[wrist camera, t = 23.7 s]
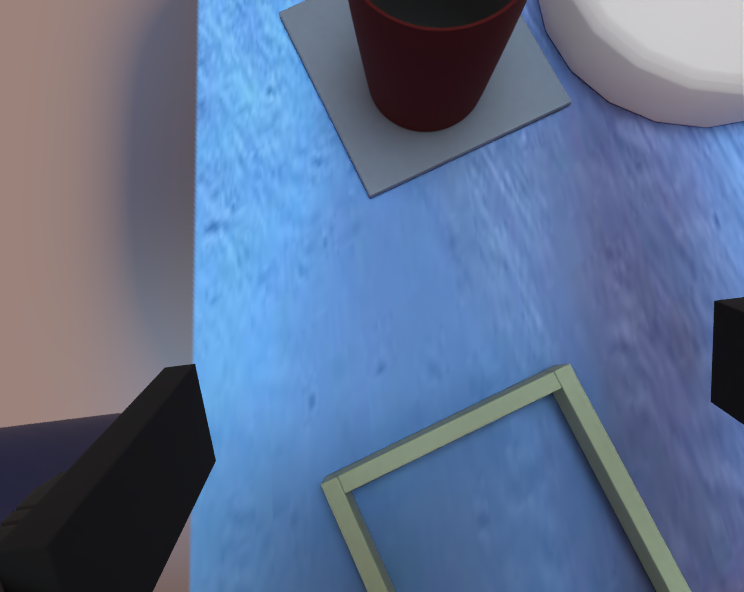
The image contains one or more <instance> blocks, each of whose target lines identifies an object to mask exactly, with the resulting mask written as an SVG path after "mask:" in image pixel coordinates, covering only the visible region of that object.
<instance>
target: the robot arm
mask: <svg viewBox="0 0 744 592" xmlns="http://www.w3.org/2000/svg"><path fill="white" fill-rule="evenodd" d="M711 402H712V403H713V404H715V405H716V406H718V407H719V408H721V409H722V410H723V411H725V412H726V413H728V414H729V415H731V416H732V417H734V418H735V419H736V420H738V421H739V422H741V423H742V424H744V297H742V298H734V299H726V300H717V301H714V326H713V354H712V382H711ZM215 461H216V459H215V455H214V450H213V445H212V441H211V436H210V431H209V427H208V422H207V418H206V413H205V408H204V404H203V399H202V394H201V390H200V385H199V380H198V376H197V371H196V367H195V364H190V365H182V366H174V367H166V368H164V369H163V370H162V371H161V372H160V373H159V375H158V376H157V377H156V378H155V379H154V380H153V381H152V382H151V383H150V384H149V385H148V386H147V387H146V388H145V389H144V391H142V393H141V394H140V395H139V396H138V397H137V398H136V399H135V400H134V401H133V402H132V403H131V404H130V405H129V406H128V407H127V408H126V410H125V411H124V412H123V413H122V414H121V415H120V416H119V417H118V418H117V419H116V420H115V421H114V422H113V423H112V424H111V425H110V426H109V427H108V428H107V430H106V431H105V432H104V433H103V434H102V435H101V436H100V437H99V438H98V439H97V440H96V441H95V442H94V443H93V444H92V445H91V446H90V448H89V449H88V450H87V451H86V452H85V453H84V454H83V455H82V456H81V457H80V458H79V459H78V460H77V461H76V462H75V463H74V464H73V466H72V467H71V468H70V469H69V470H68V471H67V472H60V473H59V474H57V475H56V476H54V477H53V478H51V479H50V480H48V481H47V482H45V483H43V484H42V485H40V486H39V487H37V488H36V489H34V490H33V491H32V492H31V493H30V494H29V495H28V496H27V497H26V498H25V499H24V501H23V502H22V503H21V504H20V505H19V506H18V507H17V510H16V511H13V512H12V513H11V514H10V515H9V516H8V517H7V518H6V519H5V520H4V521H3V522H2V523H1V527H0V592H153V590H154V588H155V586H156V583H157V581H158V579H159V577H160V575H161V573H162V571H163V569H164V567H165V565H166V563H167V561H168V559H169V557H170V554H171V552H172V550H173V548H174V546H175V544H176V542H177V540H178V538H179V536H180V534H181V532H182V530H183V528H184V526H185V523H186V521H187V519H188V517H189V515H190V513H191V511H192V509H193V507H194V505H195V503H196V501H197V499H198V497H199V495H200V493H201V490H202V488H203V486H204V484H205V482H206V480H207V478H208V476H209V474H210V472H211V470H212V468H213V466H214V464H215Z"/></svg>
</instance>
